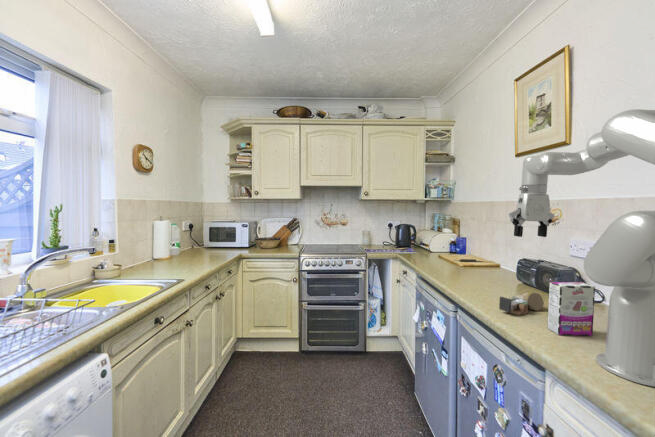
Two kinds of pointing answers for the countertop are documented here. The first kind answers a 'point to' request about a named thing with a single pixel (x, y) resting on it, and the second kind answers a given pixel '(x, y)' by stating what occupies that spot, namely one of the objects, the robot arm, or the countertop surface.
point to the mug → (532, 300)
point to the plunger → (510, 303)
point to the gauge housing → (520, 309)
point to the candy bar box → (571, 308)
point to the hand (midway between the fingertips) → (529, 236)
